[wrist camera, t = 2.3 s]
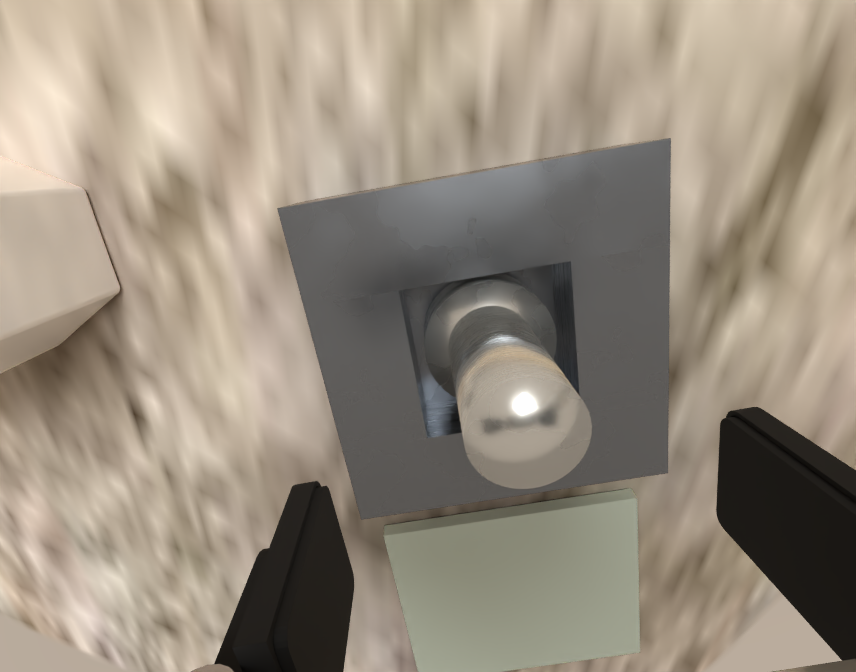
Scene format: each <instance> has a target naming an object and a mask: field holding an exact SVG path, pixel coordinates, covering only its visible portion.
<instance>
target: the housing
mask: <svg viewBox="0 0 856 672" xmlns="http://www.w3.org/2000/svg"><path fill="white" fill-rule="evenodd" d="M670 158H671V138H669V139H661V140H653V141H646V142H638V143H631V144H623V145H617V146H612V147H606V148H601V149H595V150H589V151H584V152H578V153H573V154H567V155H562V156H556V157H550V158H545V159H539V160H534V161H528V162H522V163H517V164H511V165H506V166H500V167H494V168H489V169H483V170H478V171H472V172H466V173H461V174H455V175H450V176H444V177H438V178H433V179H427V180H422V181H416V182H410V183H405V184H399V185H394V186H388V187H382V188H377V189H371V190H366V191H360V192H354V193H349V194H343V195H338V196H332V197H326V198H321V199H315V200H310V201H304V202H300V203H296V204H292V205H289V206H285V207H281V208H277V209H278V213H279V216H280V220H281V224H282V228H283V231H284V235H285V239H286V242H287V246H288V250H289V254H290V257H291V261H292V265H293V268H294V272H295V276H296V279H297V283H298V287H299V291H300V294H301V298H302V302H303V305H304V309H305V313H306V317H307V320H308V324H309V328H310V331H311V335H312V339H313V342H314V346H315V350H316V354H317V357H318V361H319V365H320V368H321V372H322V376H323V379H324V383H325V387H326V391H327V394H328V398H329V402H330V405H331V409H332V413H333V417H334V420H335V424H336V428H337V431H338V435H339V439H340V442H341V446H342V450H343V454H344V457H345V461H346V465H347V468H348V472H349V476H350V479H351V483H352V487H353V491H354V494H355V498H356V502H357V505H358V509H359V513H360V517H361V520H362V519H368V518H375V517H382V516H388V515H395V514H401V513H408V512H415V511H421V510H428V509H434V508H441V507H447V506H454V505H461V504H467V503H474V502H480V501H487V500H493V499H500V498H507V497H513V496H520V495H526V494H533V493H540V492H546V491H553V490H559V489H566V488H572V487H579V486H586V485H592V484H599V483H605V482H612V481H618V480H625V479H632V478H638V477H645V476H651V475H658V474H665V473H668V398H669V278H670ZM498 273H502V274H506V275H509V276H511V277H513V278H516V279H517V280H519V281H520V282H522V283H523V284H524V285H526V286H527V287H528V288H529V289H530V290H531V291H532V292H533V293H534V294H535V295H536V296H537V297H538V298H539V299H540V301H541V302H542V303H543V304H544V305H545V306H546V308H547V309H548V311H549V312H550V315H551V317H552V319H553V321H554V325H555V328H556V335H557V345H556V352H555V356H554V361H555V363H556V364H557V365H558V367H559V368H560V370H561V371H562V372H563V374H564V375H565V376H566V378H567V379H568V381H569V382H570V383H571V385H572V386H573V388H574V389H575V390H576V392H577V393H578V395H579V396H580V397H581V399H582V400H583V402H584V403H585V405H586V407H587V409H588V411H589V414H590V417H591V423H592V434H591V440H590V443H589V446H588V449H587V451H586V453H585V455H584V456H583V458H582V459H581V461H580V462H579V463H578V464H577V466H576V467H575V468H574V469H573V470H571V471H570V472H569V473H568V474H567V475H565V476H564V477H562V478H560V479H559V480H557V481H555V482H553V483H550V484H548V485H545V486H542V487H537V488H530V489H514V488H508V487H504V486H501V485H498V484H495V483H493V482H491V481H489V480H488V479H486V478H485V477H483V476H482V475H481V474H480V473H479V472H478V471H477V470H476V469H475V468H474V467H473V465H472V464H471V462H470V461H469V459H468V456H467V454H466V451H465V447H464V441H463V435H462V429H461V423H460V417H459V412H458V406H457V400H456V398H455V397H453V396H452V395H450V394H449V393H448V392H446V391H445V390H444V389H443V388H442V387H441V386H440V385H439V384H438V383H437V382H436V380H435V379H434V377H433V376H432V374H431V372H430V370H429V367H428V365H427V361H426V357H425V346H424V325H425V319H426V316H427V312H428V310H429V308H430V306H431V304H432V302H433V301H434V299H435V297H436V296H437V295H438V294H439V293H440V291H442V290H443V289H444V288H445V287H446V286H447V285H449V284H450V283H451V282H453V281H457V280H463V279H469V278H475V277H481V276H487V275H492V274H498Z"/></svg>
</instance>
